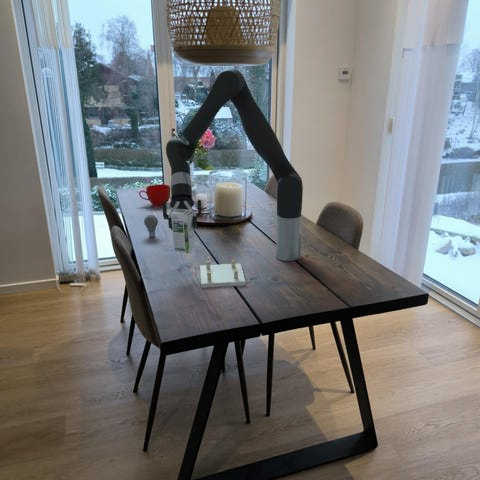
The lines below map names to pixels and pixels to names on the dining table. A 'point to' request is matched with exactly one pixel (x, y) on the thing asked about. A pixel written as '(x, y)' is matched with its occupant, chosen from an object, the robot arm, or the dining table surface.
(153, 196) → the ceramic cup
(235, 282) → the pin plate
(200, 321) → the dining table surface
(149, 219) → the light bulb
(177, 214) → the syrup box
